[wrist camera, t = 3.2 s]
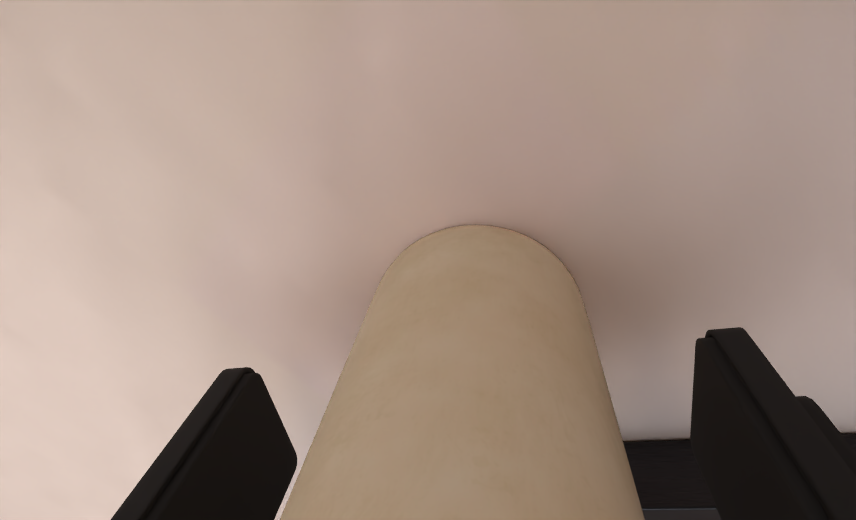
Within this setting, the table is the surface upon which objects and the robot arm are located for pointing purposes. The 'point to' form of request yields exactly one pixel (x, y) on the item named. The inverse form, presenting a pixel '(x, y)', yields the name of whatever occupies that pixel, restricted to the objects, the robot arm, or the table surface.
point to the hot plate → (674, 480)
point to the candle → (470, 396)
